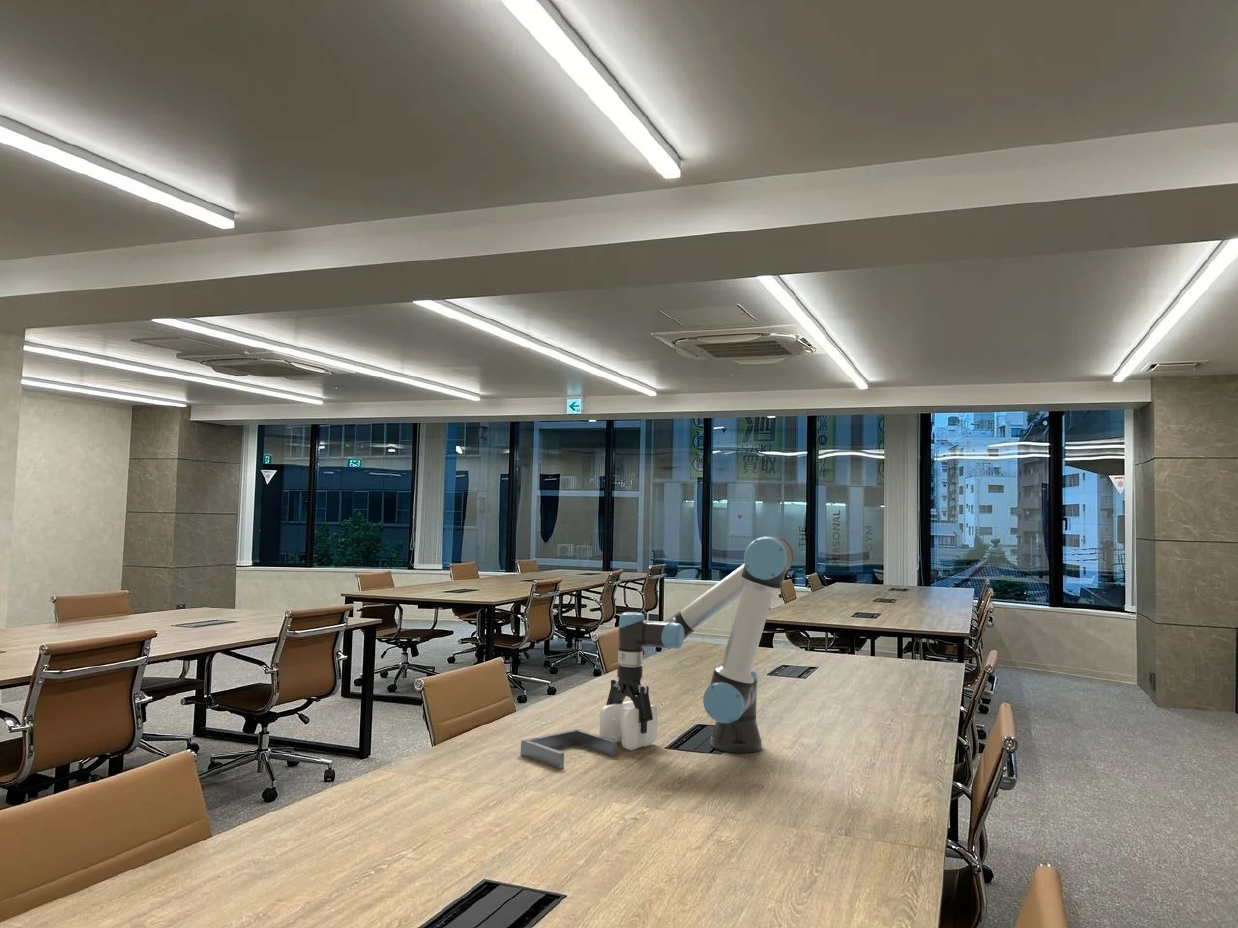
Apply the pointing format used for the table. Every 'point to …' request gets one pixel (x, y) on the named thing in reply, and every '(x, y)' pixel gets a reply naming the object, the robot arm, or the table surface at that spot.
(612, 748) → the bracket
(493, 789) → the table surface
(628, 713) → the cable organizer
